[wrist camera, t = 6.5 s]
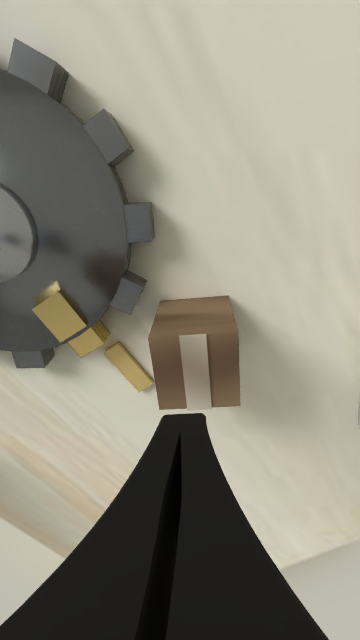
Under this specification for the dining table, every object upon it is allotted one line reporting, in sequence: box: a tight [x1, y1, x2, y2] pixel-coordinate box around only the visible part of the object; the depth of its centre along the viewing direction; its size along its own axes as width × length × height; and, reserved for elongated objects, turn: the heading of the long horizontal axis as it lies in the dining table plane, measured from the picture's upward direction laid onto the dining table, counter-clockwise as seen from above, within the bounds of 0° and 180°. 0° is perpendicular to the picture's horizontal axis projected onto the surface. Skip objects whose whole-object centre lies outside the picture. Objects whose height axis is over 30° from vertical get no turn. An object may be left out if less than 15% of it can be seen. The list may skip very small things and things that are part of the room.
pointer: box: [104, 342, 154, 392], centre depth 20 cm, size 4×1×1 cm, turn 36°
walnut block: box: [148, 296, 240, 410], centre depth 17 cm, size 4×4×5 cm
